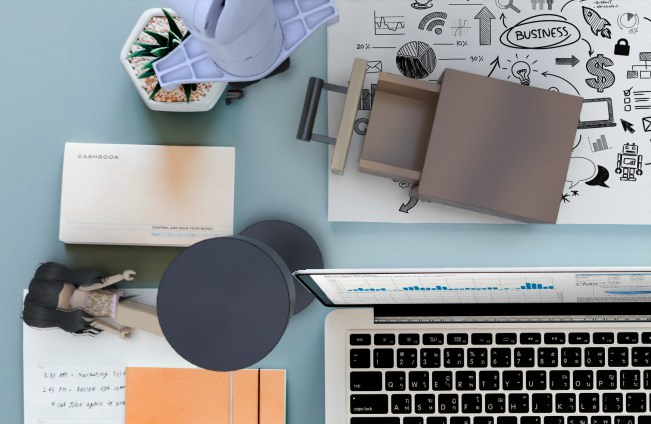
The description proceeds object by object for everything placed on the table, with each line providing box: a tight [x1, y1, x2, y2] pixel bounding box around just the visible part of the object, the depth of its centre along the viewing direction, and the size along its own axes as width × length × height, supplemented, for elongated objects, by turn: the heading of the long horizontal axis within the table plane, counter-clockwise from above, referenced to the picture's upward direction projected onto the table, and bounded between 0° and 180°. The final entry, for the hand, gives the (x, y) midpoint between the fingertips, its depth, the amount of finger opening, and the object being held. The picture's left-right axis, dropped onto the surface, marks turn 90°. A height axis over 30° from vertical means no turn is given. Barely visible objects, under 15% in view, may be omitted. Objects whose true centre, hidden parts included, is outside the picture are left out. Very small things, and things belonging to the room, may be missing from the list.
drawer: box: [295, 57, 441, 185], centre depth 62 cm, size 15×10×6 cm
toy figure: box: [19, 261, 165, 340], centre depth 64 cm, size 7×6×15 cm
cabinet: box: [408, 67, 585, 225], centre depth 61 cm, size 13×12×8 cm
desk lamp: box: [155, 219, 325, 373], centre depth 52 cm, size 10×10×28 cm
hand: (261, 67), depth 58 cm, fingers closed
